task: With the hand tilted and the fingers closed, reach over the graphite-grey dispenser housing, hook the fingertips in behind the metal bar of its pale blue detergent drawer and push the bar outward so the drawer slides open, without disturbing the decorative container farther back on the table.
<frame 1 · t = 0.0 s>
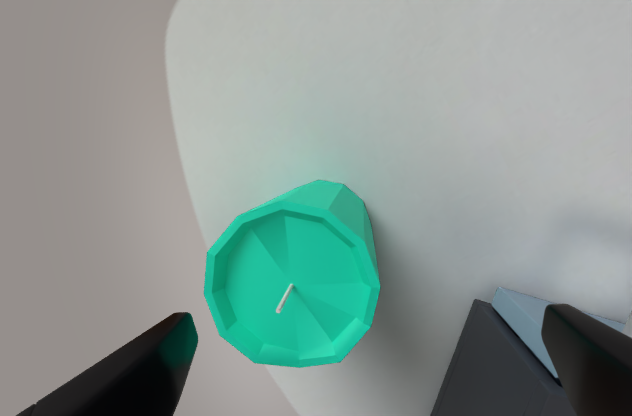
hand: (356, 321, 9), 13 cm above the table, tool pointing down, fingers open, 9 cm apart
dispenser: (534, 409, 22), on the table
candle: (323, 226, 22), on the table
dispenser drawer: (613, 393, 17), point 4 cm above the table, slide at 0.2 cm
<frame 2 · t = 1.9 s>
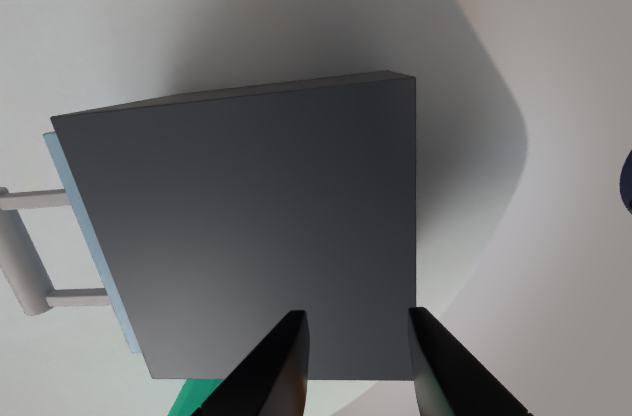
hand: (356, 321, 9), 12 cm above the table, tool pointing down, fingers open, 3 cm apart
dispenser: (292, 186, 20), on the table
candle: (229, 379, 28), on the table
dispenser drawer: (188, 221, 17), point 4 cm above the table, slide at 0.2 cm
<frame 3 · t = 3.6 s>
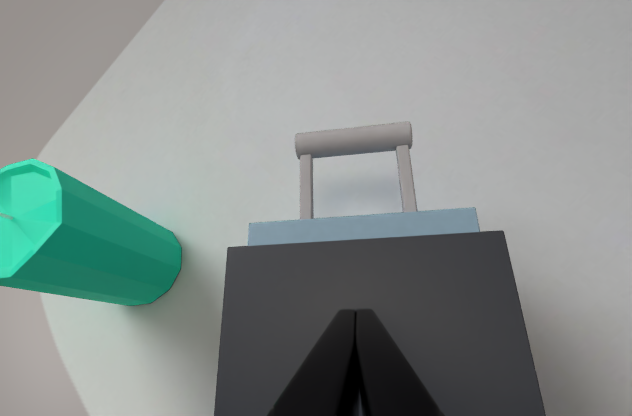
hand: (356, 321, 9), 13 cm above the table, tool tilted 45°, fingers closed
dispenser: (370, 374, 20), on the table
candle: (145, 264, 25), on the table
dispenser drawer: (363, 284, 18), point 4 cm above the table, slide at 0.2 cm
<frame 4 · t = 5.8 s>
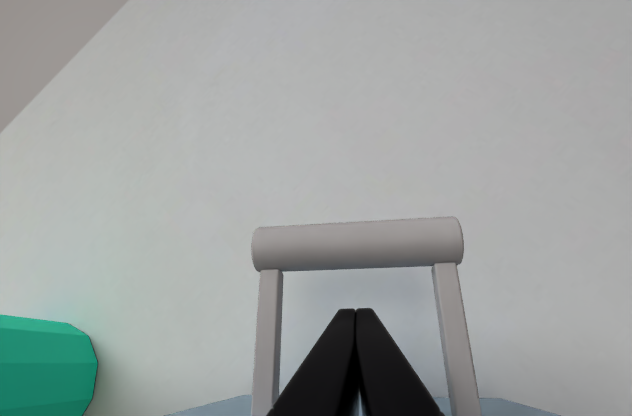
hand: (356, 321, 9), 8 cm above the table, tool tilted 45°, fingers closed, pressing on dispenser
candle: (44, 385, 17), on the table
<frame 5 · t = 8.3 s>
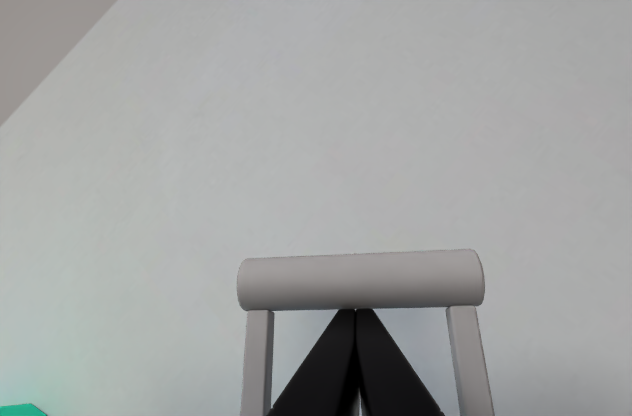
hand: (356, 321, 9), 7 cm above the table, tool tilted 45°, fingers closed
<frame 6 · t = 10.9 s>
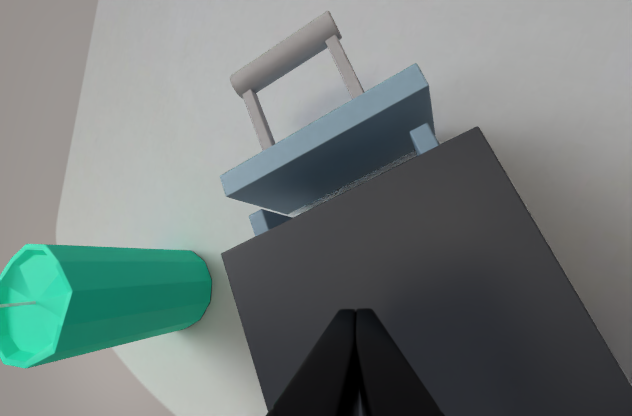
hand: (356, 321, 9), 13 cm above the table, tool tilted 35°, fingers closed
dispenser: (417, 310, 20), on the table
candle: (181, 288, 27), on the table
dispenser drawer: (351, 189, 18), point 4 cm above the table, slide at 2.7 cm
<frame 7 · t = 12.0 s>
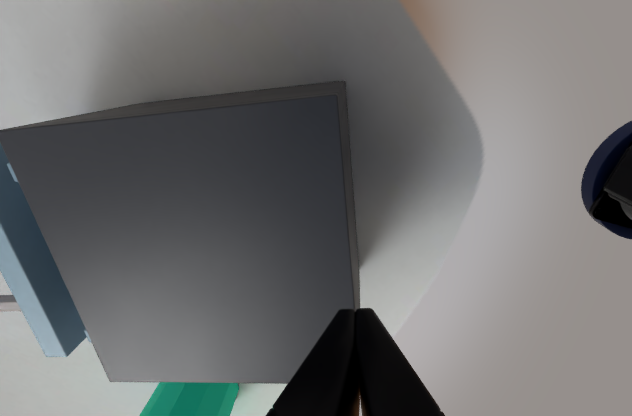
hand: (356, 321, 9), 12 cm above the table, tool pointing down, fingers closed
dispenser: (257, 192, 21), on the table
candle: (204, 381, 28), on the table
dispenser drawer: (103, 230, 18), point 4 cm above the table, slide at 2.7 cm
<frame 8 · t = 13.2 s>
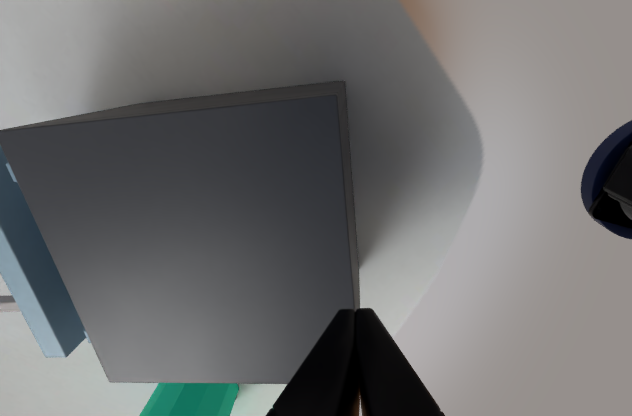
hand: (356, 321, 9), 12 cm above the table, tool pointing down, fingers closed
dispenser: (256, 192, 21), on the table
candle: (203, 381, 28), on the table
dispenser drawer: (103, 230, 18), point 4 cm above the table, slide at 2.7 cm
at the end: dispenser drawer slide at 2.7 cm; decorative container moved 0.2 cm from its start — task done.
